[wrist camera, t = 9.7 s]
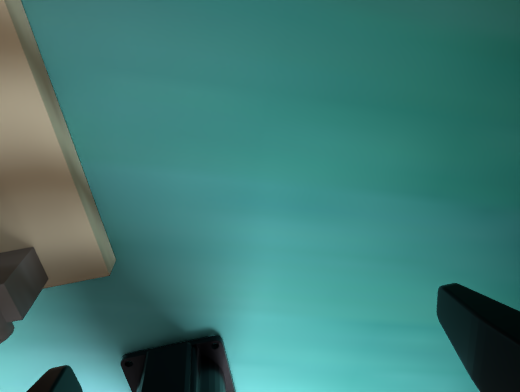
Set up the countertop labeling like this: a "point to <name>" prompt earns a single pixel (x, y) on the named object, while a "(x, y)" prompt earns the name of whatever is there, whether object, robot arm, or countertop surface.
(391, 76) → the countertop surface
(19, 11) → the tan long piece
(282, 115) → the countertop surface
